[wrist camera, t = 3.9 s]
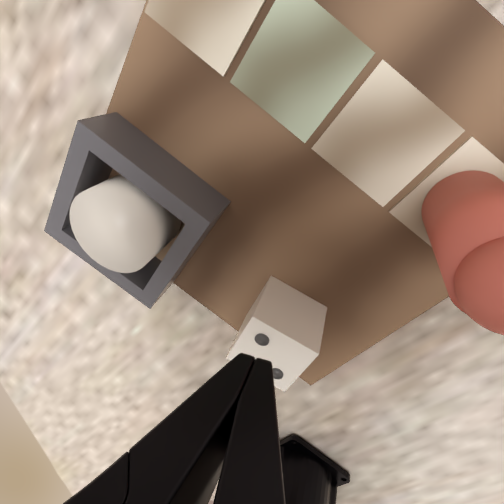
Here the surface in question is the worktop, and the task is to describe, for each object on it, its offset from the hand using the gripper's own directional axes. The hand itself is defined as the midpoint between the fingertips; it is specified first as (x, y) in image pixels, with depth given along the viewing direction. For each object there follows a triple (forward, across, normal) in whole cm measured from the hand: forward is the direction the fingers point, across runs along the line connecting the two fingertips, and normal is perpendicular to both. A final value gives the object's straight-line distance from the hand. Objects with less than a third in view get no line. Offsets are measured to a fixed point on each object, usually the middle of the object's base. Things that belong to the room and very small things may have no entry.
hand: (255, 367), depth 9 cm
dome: (+11, +10, +2) cm, 15 cm away
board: (+12, +2, 0) cm, 12 cm away
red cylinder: (+11, -7, -1) cm, 13 cm away
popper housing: (+11, +10, +2) cm, 15 cm away
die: (+11, +1, +8) cm, 14 cm away
